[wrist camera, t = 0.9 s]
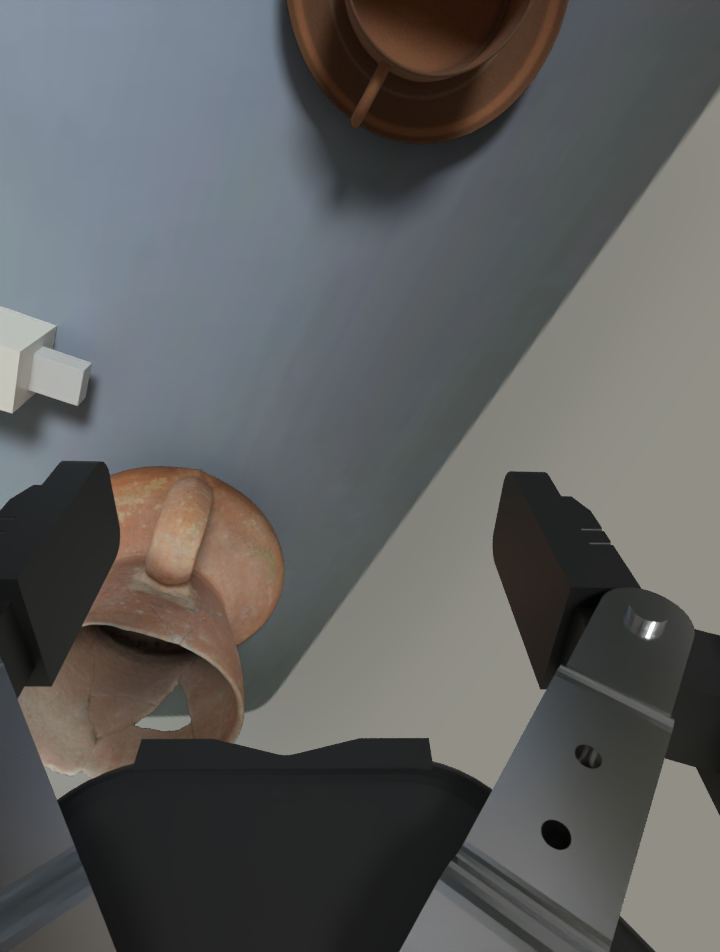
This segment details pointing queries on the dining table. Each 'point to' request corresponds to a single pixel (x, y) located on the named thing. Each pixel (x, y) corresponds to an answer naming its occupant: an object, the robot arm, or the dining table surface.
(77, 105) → the dining table surface
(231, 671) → the ceramic jug
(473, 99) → the cup and saucer
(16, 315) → the connector
